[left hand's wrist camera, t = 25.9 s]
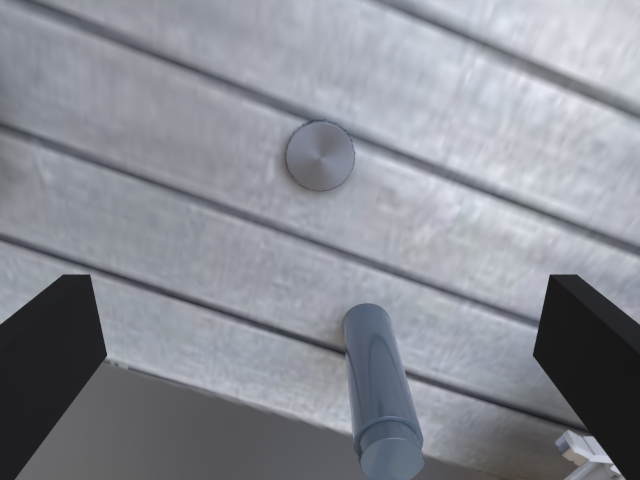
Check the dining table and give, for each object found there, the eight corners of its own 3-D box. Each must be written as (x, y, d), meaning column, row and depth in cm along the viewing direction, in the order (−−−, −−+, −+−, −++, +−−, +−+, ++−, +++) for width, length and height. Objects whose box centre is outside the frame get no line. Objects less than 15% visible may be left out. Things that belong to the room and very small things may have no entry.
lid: (362, 174, 39) (364, 178, 38) (300, 196, 40) (300, 201, 38) (341, 109, 37) (342, 111, 36) (276, 133, 38) (274, 136, 36)
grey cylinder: (338, 340, 46) (349, 484, 30) (348, 300, 44) (363, 429, 28) (384, 347, 46) (418, 492, 30) (395, 307, 44) (437, 439, 28)
